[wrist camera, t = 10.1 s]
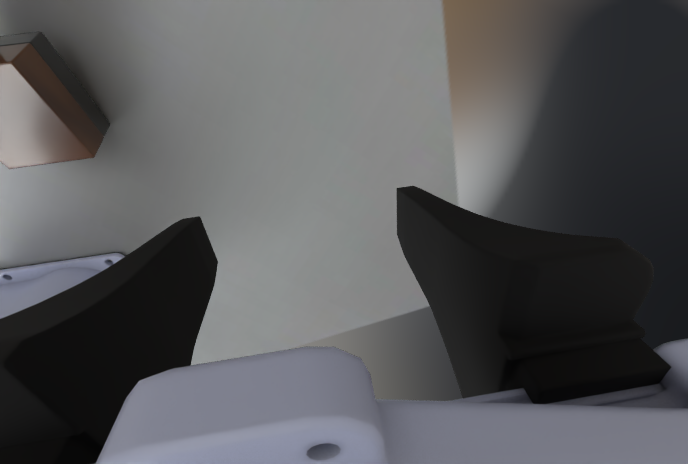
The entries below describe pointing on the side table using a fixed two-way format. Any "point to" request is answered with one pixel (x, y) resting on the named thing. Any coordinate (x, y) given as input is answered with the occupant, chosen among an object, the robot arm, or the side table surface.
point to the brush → (43, 106)
